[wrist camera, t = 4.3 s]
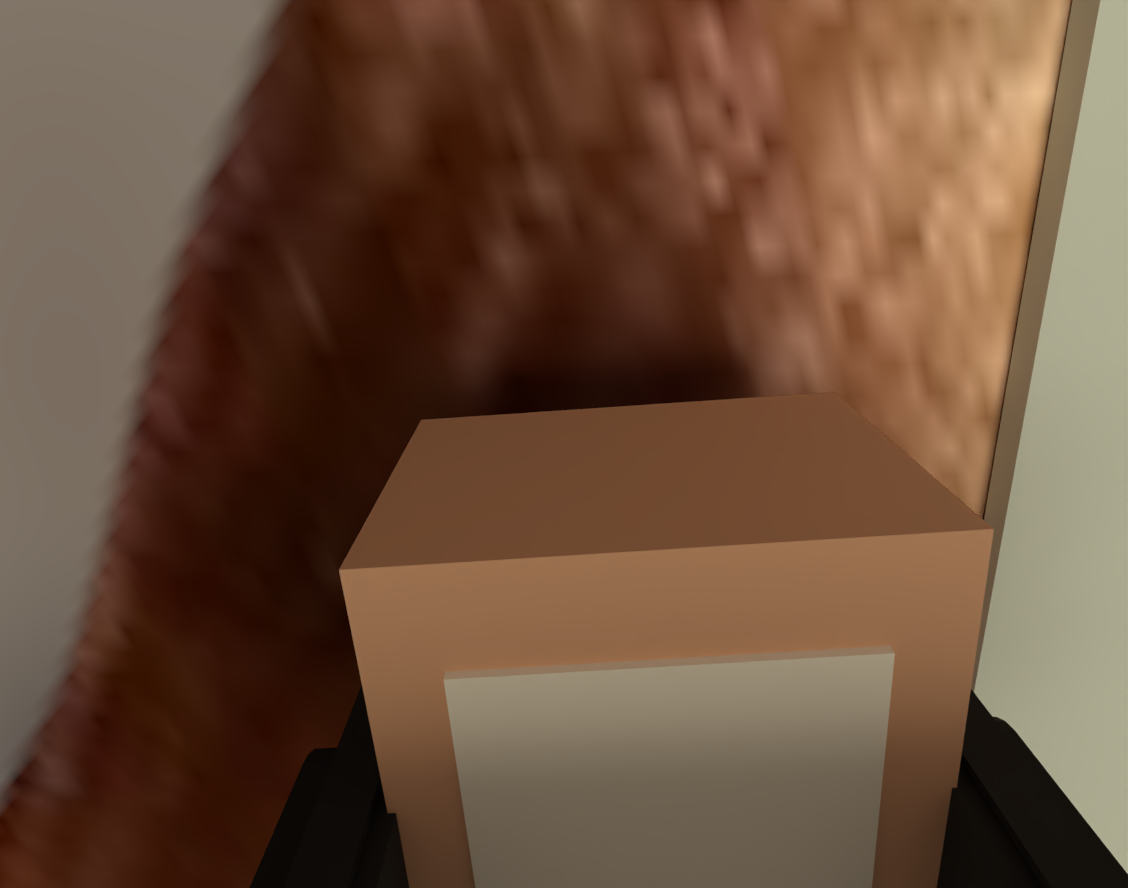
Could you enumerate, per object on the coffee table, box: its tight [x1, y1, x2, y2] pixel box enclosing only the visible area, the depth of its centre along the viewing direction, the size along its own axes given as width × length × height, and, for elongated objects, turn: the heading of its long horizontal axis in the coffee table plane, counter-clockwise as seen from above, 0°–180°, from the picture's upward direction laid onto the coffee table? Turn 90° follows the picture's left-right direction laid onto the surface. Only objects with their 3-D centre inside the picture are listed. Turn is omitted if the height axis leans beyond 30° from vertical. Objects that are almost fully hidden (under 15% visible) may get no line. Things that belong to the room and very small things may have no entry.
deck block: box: [339, 392, 994, 888], centre depth 9 cm, size 8×5×4 cm, turn 4°
